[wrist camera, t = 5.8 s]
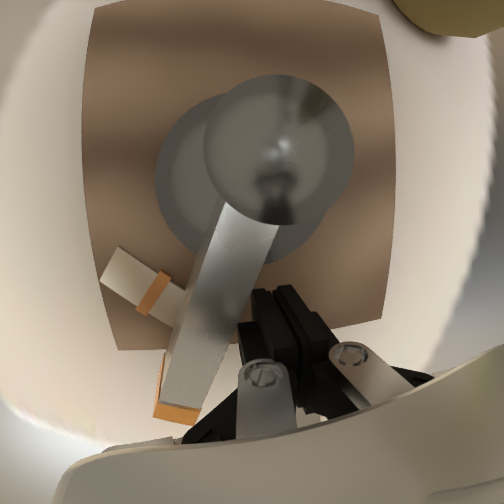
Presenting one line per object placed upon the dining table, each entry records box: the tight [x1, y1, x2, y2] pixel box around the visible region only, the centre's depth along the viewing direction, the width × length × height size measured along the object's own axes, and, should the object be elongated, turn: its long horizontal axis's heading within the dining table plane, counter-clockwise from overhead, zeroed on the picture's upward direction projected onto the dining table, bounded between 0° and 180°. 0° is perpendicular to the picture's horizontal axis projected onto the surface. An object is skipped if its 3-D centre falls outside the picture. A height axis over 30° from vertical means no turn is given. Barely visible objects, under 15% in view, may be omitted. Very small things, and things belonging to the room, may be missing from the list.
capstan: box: [153, 74, 354, 426], centre depth 10 cm, size 13×7×5 cm, turn 158°
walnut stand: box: [82, 0, 396, 350], centre depth 12 cm, size 18×15×2 cm
